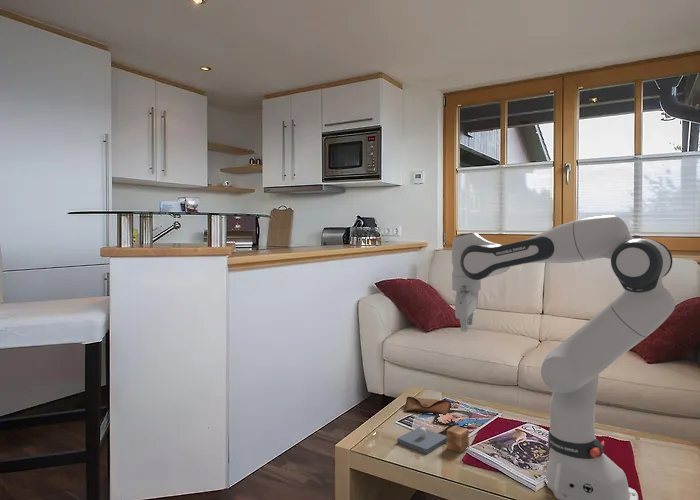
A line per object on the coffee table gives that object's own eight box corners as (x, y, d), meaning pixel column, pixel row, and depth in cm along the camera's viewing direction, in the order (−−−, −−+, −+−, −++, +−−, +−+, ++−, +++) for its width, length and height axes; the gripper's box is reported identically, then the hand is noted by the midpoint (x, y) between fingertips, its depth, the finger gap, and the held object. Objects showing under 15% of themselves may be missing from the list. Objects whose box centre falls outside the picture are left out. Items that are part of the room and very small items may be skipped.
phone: (436, 413, 180) (477, 417, 174) (436, 416, 180) (477, 420, 174) (432, 421, 172) (474, 426, 167) (432, 424, 172) (475, 429, 167)
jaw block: (468, 447, 153) (468, 429, 153) (460, 453, 149) (460, 434, 149) (455, 443, 156) (455, 425, 156) (446, 448, 153) (446, 430, 153)
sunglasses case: (402, 411, 183) (403, 394, 186) (405, 414, 189) (406, 397, 192) (449, 416, 178) (450, 398, 181) (451, 419, 184) (451, 401, 187)
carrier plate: (448, 441, 158) (448, 428, 158) (426, 454, 149) (426, 440, 149) (419, 430, 166) (419, 418, 166) (397, 442, 158) (397, 429, 158)
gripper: (471, 289, 138) (471, 335, 139) (481, 280, 157) (481, 322, 158) (449, 288, 141) (450, 334, 142) (462, 280, 160) (462, 321, 160)
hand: (466, 327), depth 150 cm, fingers open, 8 cm apart
